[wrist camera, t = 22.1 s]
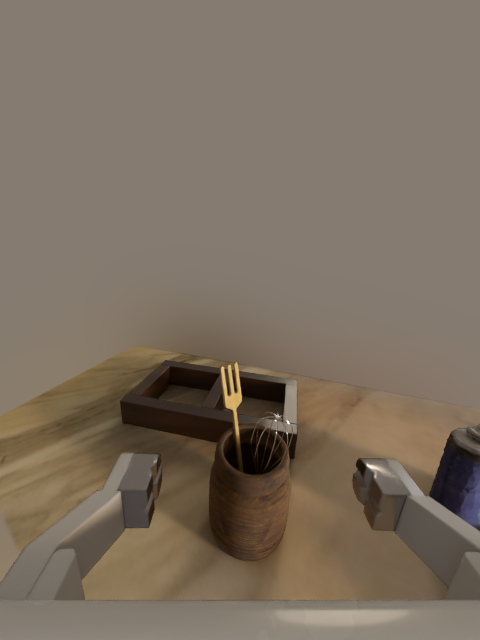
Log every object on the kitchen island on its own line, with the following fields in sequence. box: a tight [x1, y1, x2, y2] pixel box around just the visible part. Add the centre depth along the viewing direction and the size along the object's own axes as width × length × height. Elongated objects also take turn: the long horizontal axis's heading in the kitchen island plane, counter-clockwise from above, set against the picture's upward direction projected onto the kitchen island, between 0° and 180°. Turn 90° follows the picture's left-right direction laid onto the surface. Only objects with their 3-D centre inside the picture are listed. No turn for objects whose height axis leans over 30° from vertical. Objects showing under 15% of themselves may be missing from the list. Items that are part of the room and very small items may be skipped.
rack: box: [120, 360, 297, 458], centre depth 32 cm, size 10×20×3 cm, turn 78°
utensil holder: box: [209, 362, 293, 561], centre depth 18 cm, size 6×6×12 cm
